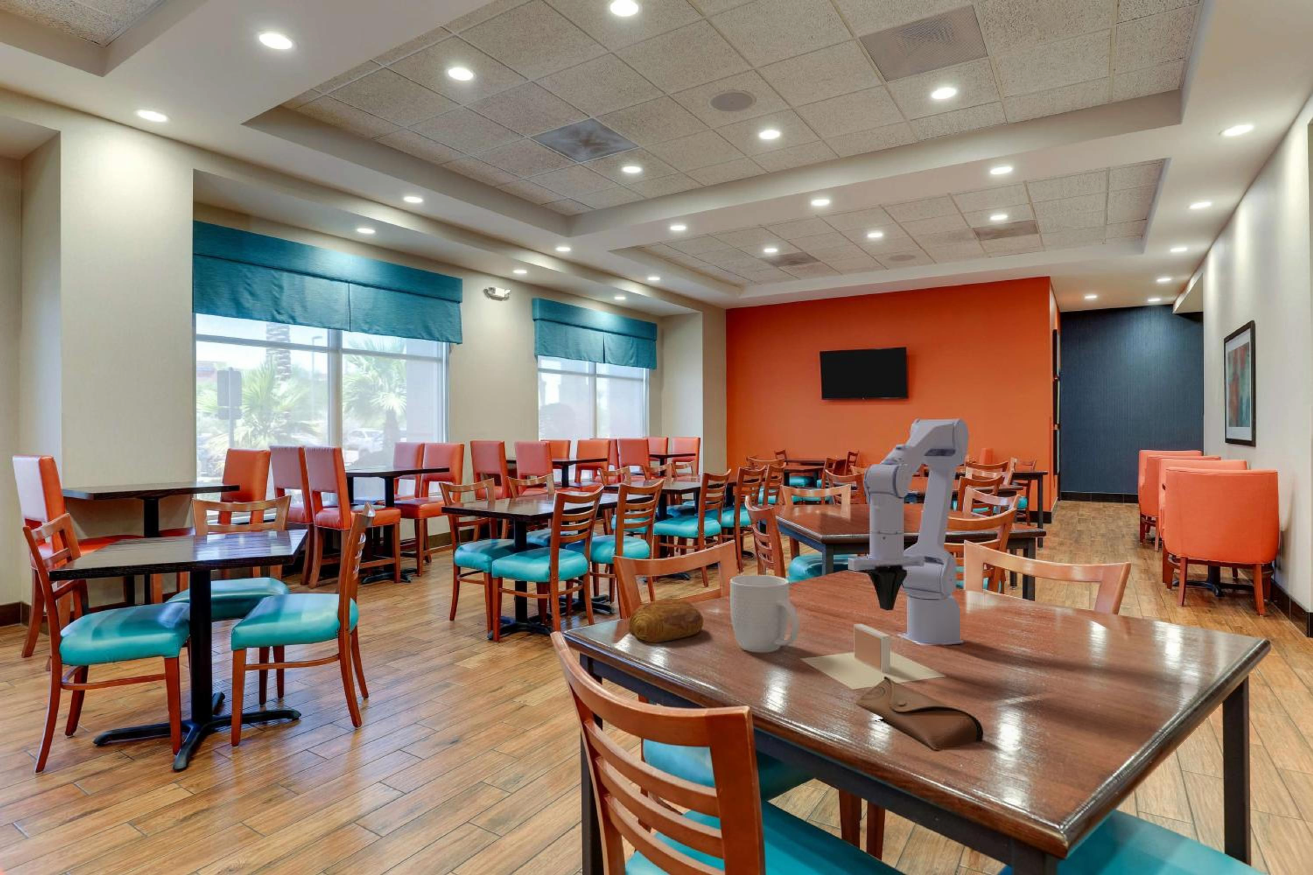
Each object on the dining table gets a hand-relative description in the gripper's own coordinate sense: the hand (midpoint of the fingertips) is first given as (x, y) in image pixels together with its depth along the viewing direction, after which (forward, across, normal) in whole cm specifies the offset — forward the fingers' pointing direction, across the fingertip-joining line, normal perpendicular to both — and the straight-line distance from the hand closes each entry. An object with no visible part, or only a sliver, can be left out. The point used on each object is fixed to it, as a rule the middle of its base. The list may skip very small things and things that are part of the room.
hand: (886, 608), depth 126 cm
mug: (+10, +18, -13) cm, 24 cm away
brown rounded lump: (+10, +31, -31) cm, 45 cm away
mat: (+9, +5, +3) cm, 11 cm away
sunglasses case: (+10, +13, +23) cm, 28 cm away
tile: (+9, +4, +2) cm, 10 cm away
